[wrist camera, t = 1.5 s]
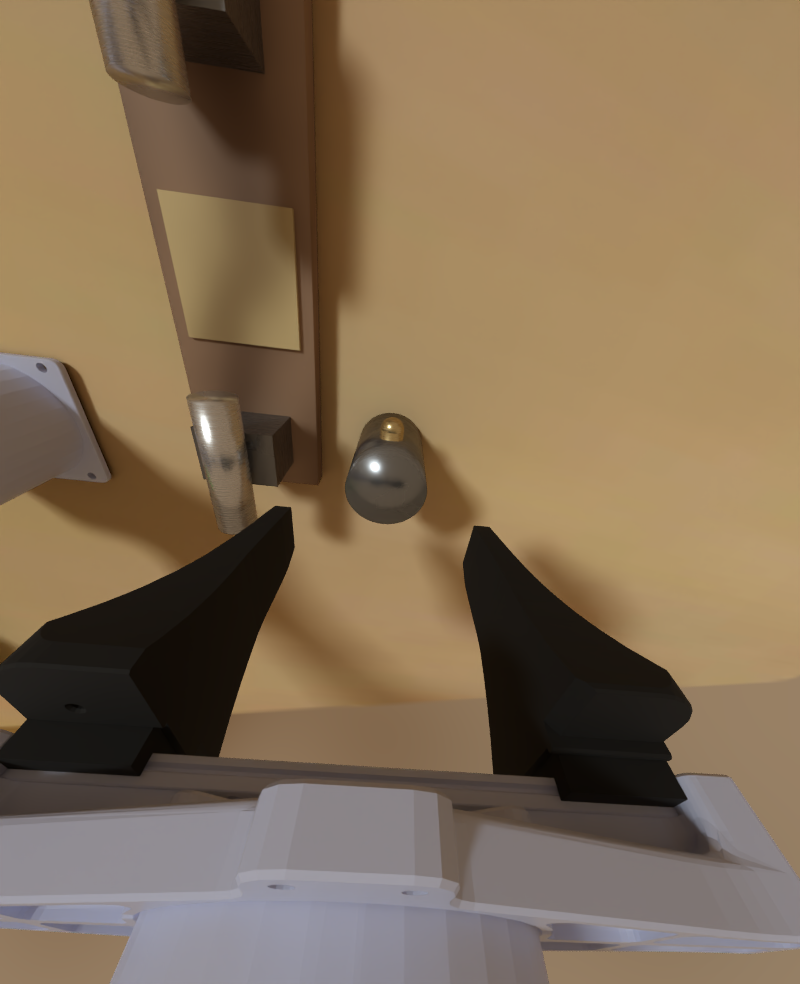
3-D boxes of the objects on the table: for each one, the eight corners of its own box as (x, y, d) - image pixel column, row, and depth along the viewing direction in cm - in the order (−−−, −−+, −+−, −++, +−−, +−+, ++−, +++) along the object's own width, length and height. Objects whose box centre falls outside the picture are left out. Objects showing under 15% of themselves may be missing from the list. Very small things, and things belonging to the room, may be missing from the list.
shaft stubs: (234, 482, 21) (191, 530, 17) (98, -227, 9) (-190, -718, 5) (295, 489, 21) (267, 537, 17) (244, -198, 9) (100, -641, 5)
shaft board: (219, 465, 22) (208, 475, 20) (87, -151, 10) (44, -212, 9) (322, 476, 22) (317, 486, 21) (309, -109, 10) (297, -162, 9)
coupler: (358, 479, 22) (343, 534, 17) (362, 393, 19) (346, 428, 14) (414, 485, 22) (417, 542, 17) (428, 400, 19) (437, 439, 14)
